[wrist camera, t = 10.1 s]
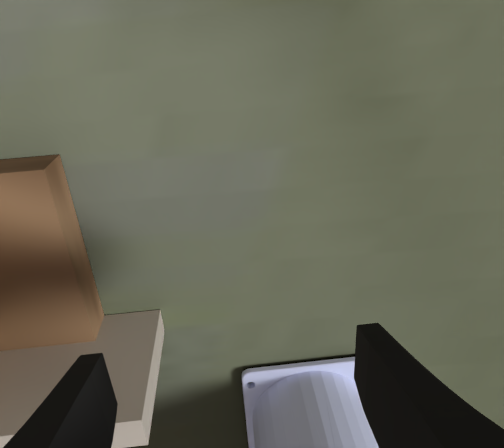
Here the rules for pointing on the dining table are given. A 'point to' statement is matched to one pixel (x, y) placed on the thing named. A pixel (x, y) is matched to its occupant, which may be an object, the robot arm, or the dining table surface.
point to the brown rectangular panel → (43, 259)
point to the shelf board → (119, 368)
